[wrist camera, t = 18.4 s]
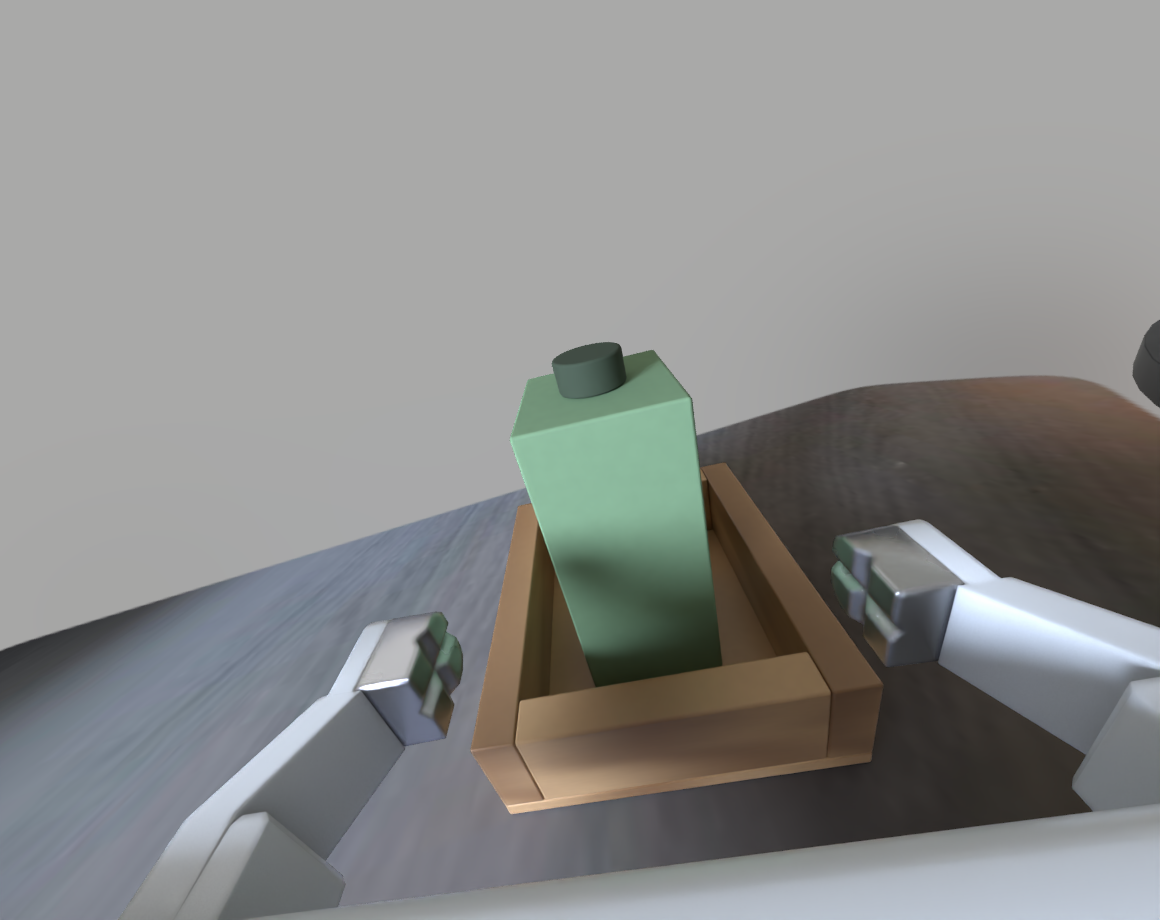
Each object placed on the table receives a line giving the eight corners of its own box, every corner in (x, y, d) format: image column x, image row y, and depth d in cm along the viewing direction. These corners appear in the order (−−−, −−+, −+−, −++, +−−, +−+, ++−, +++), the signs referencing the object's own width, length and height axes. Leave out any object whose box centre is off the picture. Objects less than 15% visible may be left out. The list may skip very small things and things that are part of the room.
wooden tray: (730, 519, 22) (725, 461, 20) (871, 762, 11) (885, 684, 10) (537, 557, 22) (517, 505, 21) (510, 815, 12) (468, 751, 11)
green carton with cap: (686, 566, 19) (649, 318, 14) (723, 667, 14) (687, 354, 9) (589, 585, 19) (518, 351, 14) (595, 689, 15) (494, 400, 10)
